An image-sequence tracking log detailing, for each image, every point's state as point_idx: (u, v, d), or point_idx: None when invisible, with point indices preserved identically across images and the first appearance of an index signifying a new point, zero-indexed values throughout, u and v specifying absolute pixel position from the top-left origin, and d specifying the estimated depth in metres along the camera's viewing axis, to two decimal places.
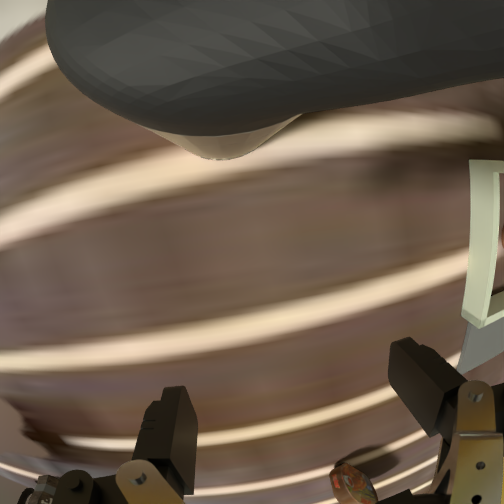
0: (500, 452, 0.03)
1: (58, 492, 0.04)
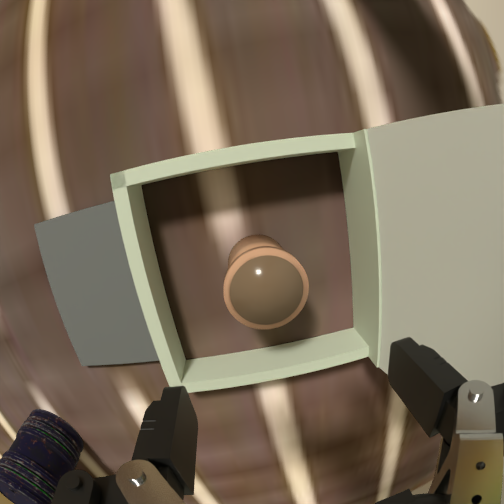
0: (500, 453, 0.03)
1: (58, 492, 0.04)
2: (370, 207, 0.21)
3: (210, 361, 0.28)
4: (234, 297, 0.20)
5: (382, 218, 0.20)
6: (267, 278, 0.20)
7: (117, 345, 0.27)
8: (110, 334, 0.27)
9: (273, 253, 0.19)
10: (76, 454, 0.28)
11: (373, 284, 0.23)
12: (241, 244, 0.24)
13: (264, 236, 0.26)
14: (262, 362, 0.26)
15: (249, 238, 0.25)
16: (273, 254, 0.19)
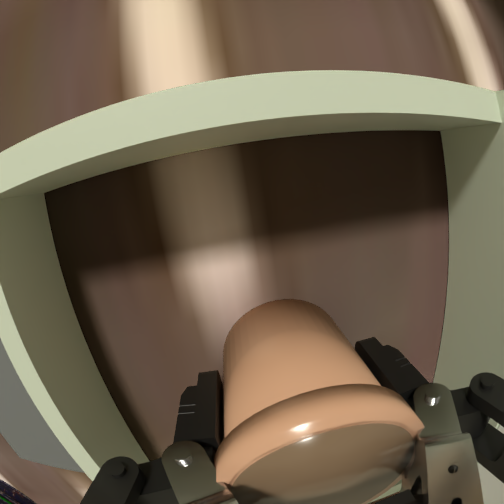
0: (471, 452, 0.04)
1: (99, 477, 0.05)
2: None
3: None
4: (243, 502, 0.06)
5: None
6: (334, 468, 0.05)
7: (55, 450, 0.12)
8: (41, 435, 0.12)
9: (365, 419, 0.05)
10: None
11: None
12: (253, 333, 0.10)
13: (302, 305, 0.11)
14: None
15: (271, 314, 0.11)
16: (364, 421, 0.05)
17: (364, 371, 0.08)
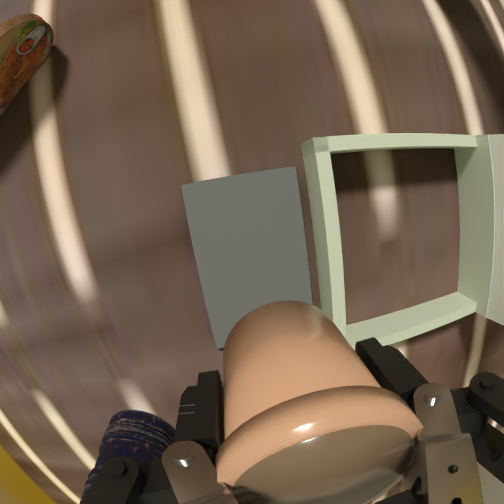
0: (471, 452, 0.04)
1: (99, 477, 0.05)
2: (489, 190, 0.22)
3: (359, 326, 0.29)
4: (243, 503, 0.06)
5: (499, 198, 0.21)
6: (334, 469, 0.05)
7: None
8: None
9: (365, 421, 0.05)
10: None
11: (486, 249, 0.24)
12: (254, 334, 0.10)
13: (302, 307, 0.11)
14: (405, 321, 0.28)
15: (271, 315, 0.11)
16: (364, 423, 0.05)
17: (364, 372, 0.08)
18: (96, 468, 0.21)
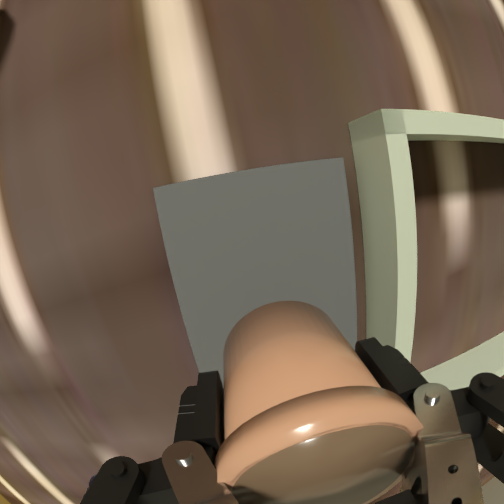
0: (472, 452, 0.04)
1: (99, 477, 0.05)
2: None
3: None
4: (243, 503, 0.06)
5: None
6: (333, 470, 0.05)
7: None
8: None
9: (365, 421, 0.05)
10: None
11: None
12: (253, 334, 0.10)
13: (302, 307, 0.11)
14: (467, 373, 0.18)
15: (271, 315, 0.11)
16: (364, 423, 0.05)
17: (364, 373, 0.08)
18: None
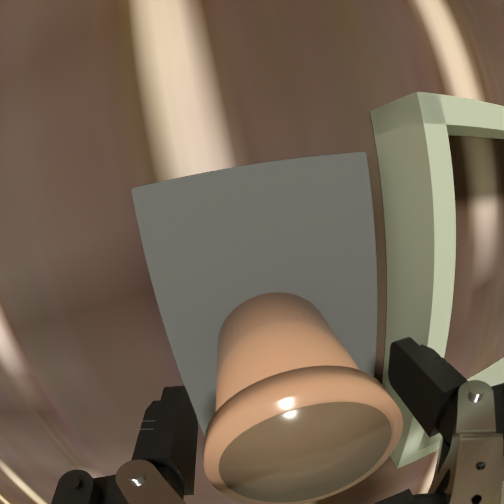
0: (500, 453, 0.03)
1: (59, 492, 0.04)
2: None
3: None
4: (230, 477, 0.06)
5: None
6: (313, 445, 0.06)
7: None
8: None
9: (339, 397, 0.06)
10: None
11: None
12: (244, 322, 0.11)
13: (291, 298, 0.12)
14: None
15: (261, 305, 0.12)
16: (338, 399, 0.06)
17: (344, 357, 0.08)
18: None
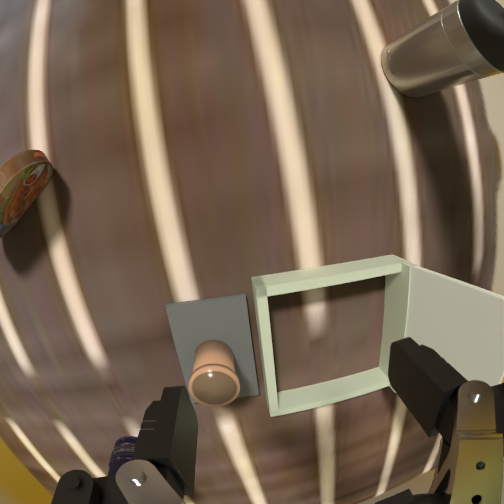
0: (500, 452, 0.03)
1: (59, 492, 0.04)
2: (404, 308, 0.34)
3: (291, 393, 0.40)
4: (194, 390, 0.31)
5: (410, 316, 0.34)
6: (214, 382, 0.31)
7: None
8: None
9: (217, 370, 0.30)
10: None
11: None
12: (202, 349, 0.35)
13: (218, 342, 0.37)
14: (326, 392, 0.39)
15: (207, 344, 0.36)
16: (217, 371, 0.30)
17: (226, 362, 0.33)
18: None
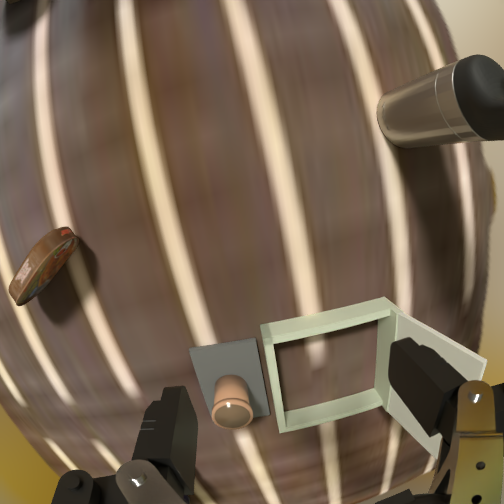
0: (501, 452, 0.03)
1: (58, 492, 0.04)
2: None
3: (297, 412, 0.46)
4: (216, 418, 0.37)
5: None
6: (232, 412, 0.37)
7: None
8: None
9: (234, 403, 0.36)
10: None
11: None
12: (221, 384, 0.41)
13: (234, 376, 0.43)
14: (327, 411, 0.45)
15: (225, 379, 0.42)
16: (234, 404, 0.37)
17: (241, 395, 0.39)
18: None
